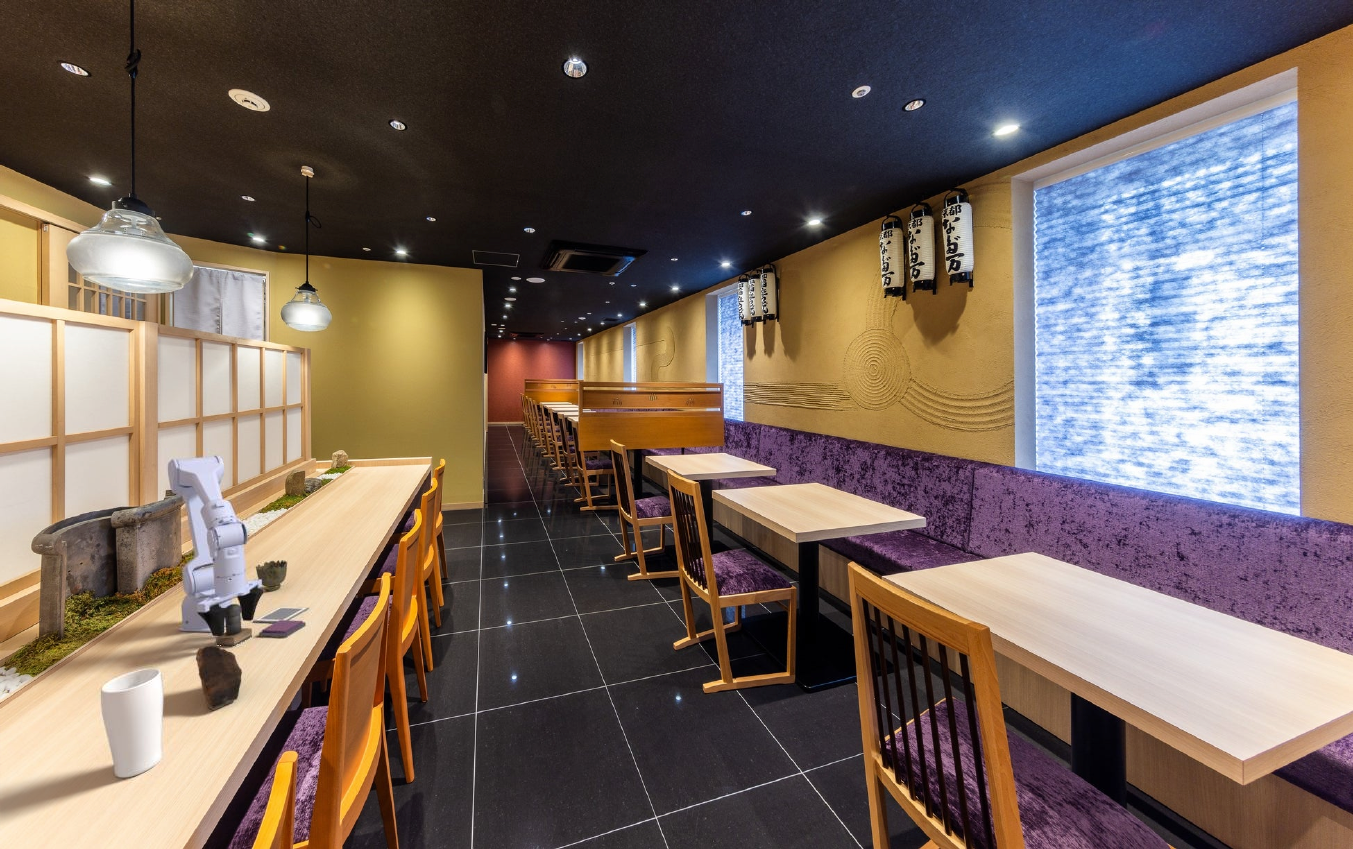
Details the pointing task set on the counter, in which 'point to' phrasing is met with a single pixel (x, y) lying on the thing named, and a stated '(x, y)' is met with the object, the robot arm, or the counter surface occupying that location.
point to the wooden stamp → (233, 628)
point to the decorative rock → (218, 676)
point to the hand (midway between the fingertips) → (233, 627)
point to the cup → (272, 574)
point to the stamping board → (281, 614)
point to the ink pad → (282, 628)
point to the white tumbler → (134, 720)
